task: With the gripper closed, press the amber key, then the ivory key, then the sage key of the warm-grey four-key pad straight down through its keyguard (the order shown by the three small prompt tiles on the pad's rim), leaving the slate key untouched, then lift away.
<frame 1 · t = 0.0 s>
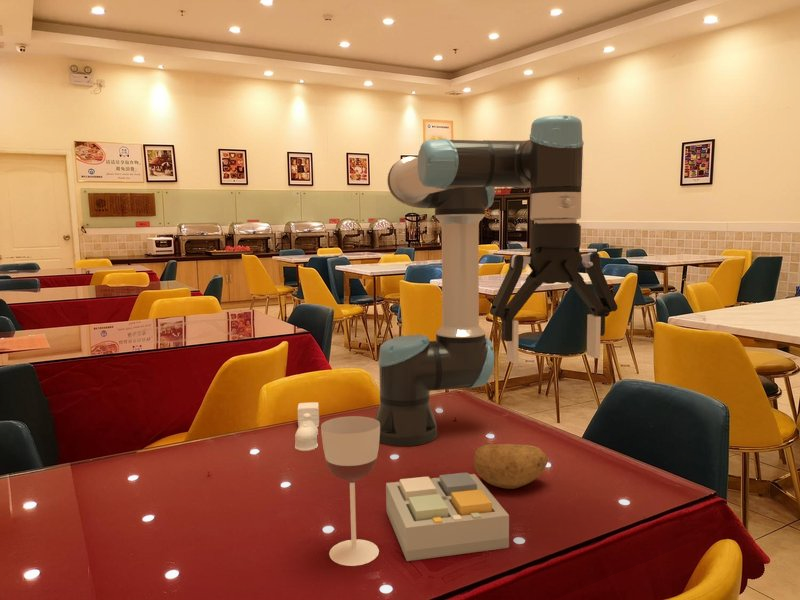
hand: (553, 359, 94), 28 cm above the table, fingers open, 13 cm apart
key ivory: (417, 491, 100), point 5 cm above the table, slide at 0.0 cm
wineglass: (354, 553, 91), on the table
key amber: (471, 505, 95), point 5 cm above the table, slide at 0.0 cm
potato: (510, 486, 114), on the table
key sage: (428, 510, 93), point 5 cm above the table, slide at 0.0 cm
key slate: (457, 486, 101), point 5 cm above the table, slide at 0.0 cm
container set: (307, 437, 144), on the table
keypad: (443, 528, 98), on the table
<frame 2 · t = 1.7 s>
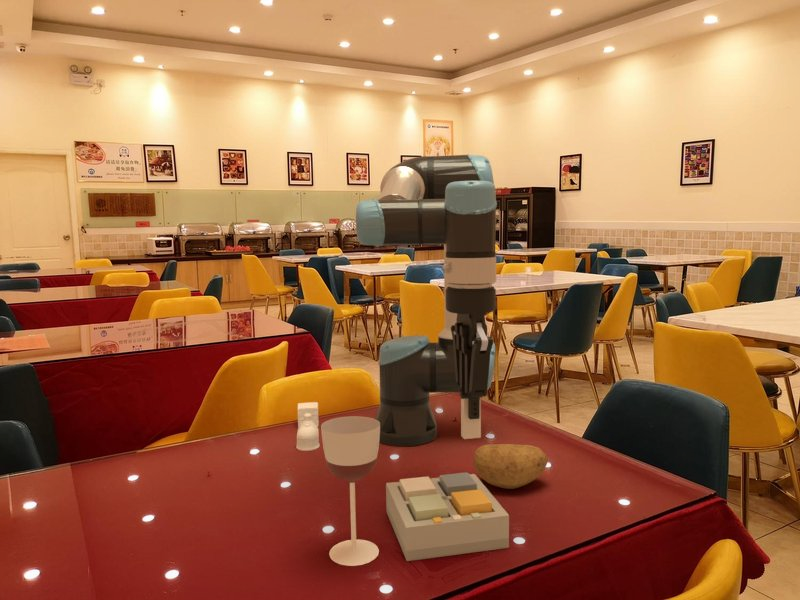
hand: (471, 436, 93), 16 cm above the table, fingers closed
nothing on the table moved.
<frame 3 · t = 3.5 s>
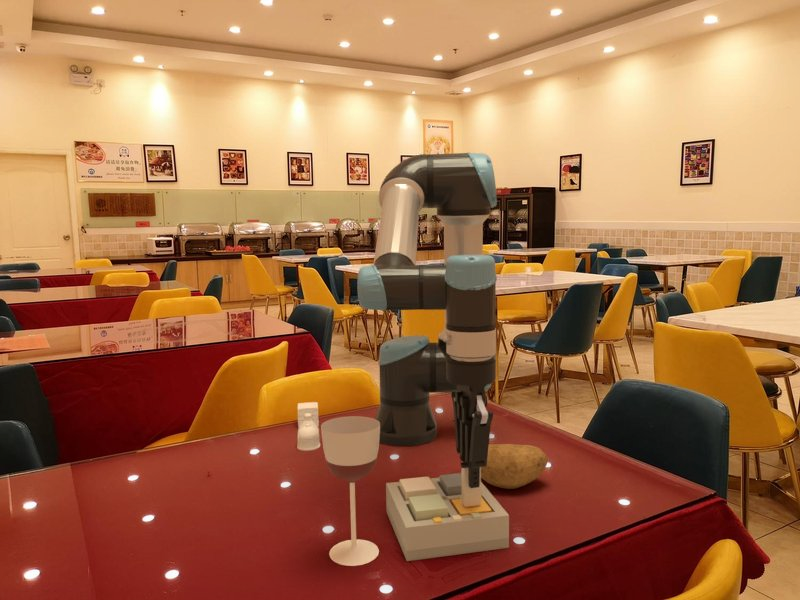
hand: (471, 503, 94), 6 cm above the table, fingers closed
key amber: (471, 512, 95), point 4 cm above the table, slide at 1.2 cm, touching gripper
everything else where it was.
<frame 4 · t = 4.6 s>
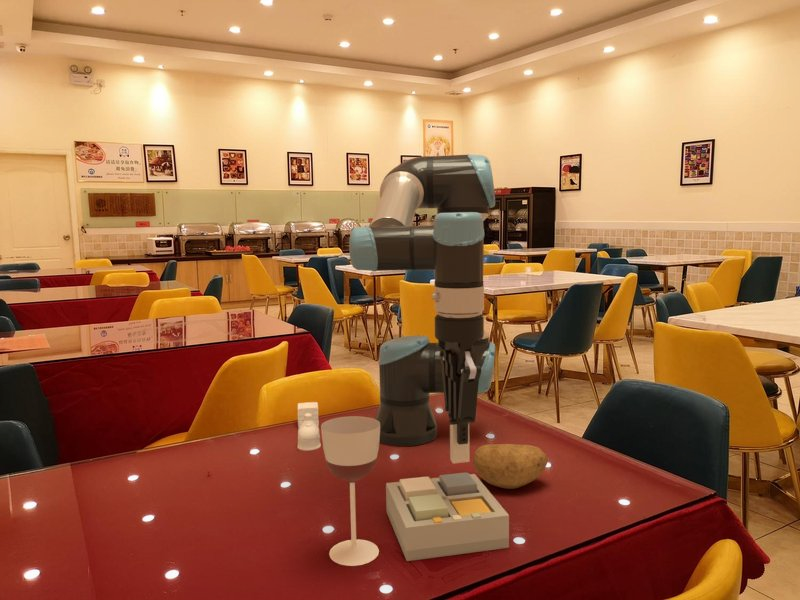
hand: (459, 460, 95), 12 cm above the table, fingers closed
key amber: (471, 514, 95), point 4 cm above the table, slide at 1.6 cm
everything else where it was.
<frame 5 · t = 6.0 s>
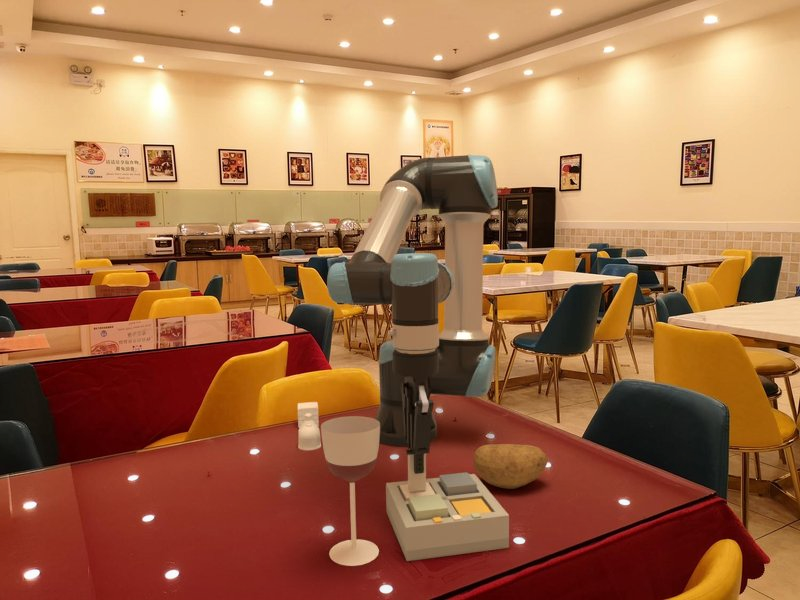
hand: (417, 488, 100), 6 cm above the table, fingers closed
key ivory: (417, 497, 100), point 4 cm above the table, slide at 1.1 cm, touching gripper
everything else where it was.
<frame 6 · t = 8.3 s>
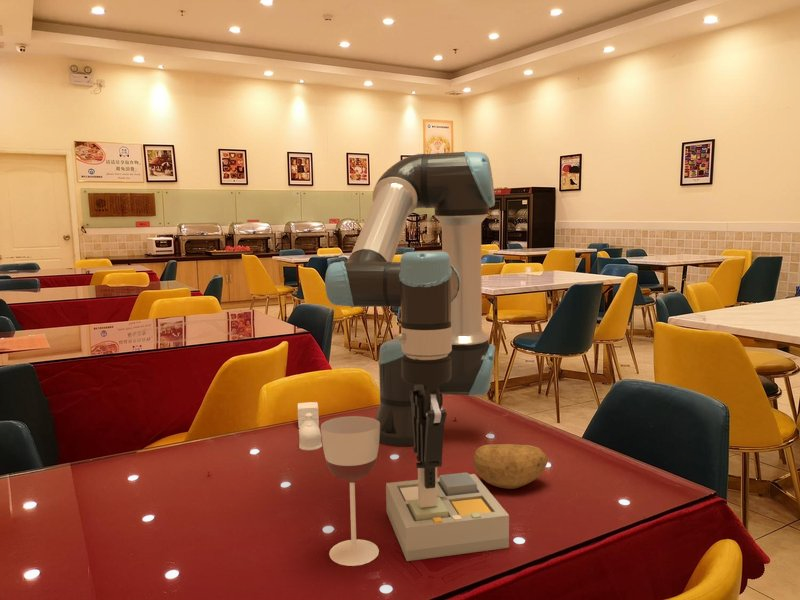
hand: (427, 504, 93), 6 cm above the table, fingers closed
key ivory: (417, 500, 100), point 4 cm above the table, slide at 1.6 cm
key sage: (428, 513, 93), point 5 cm above the table, slide at 0.5 cm, touching gripper
everything else where it was.
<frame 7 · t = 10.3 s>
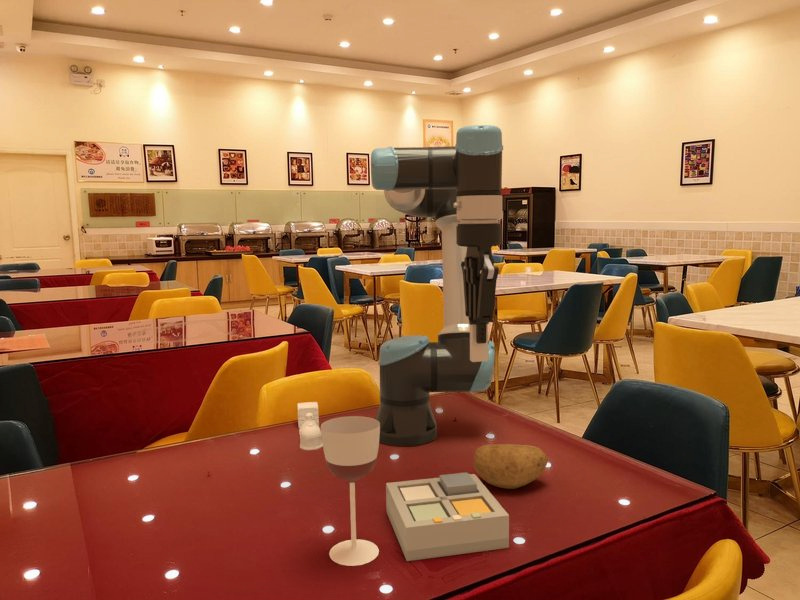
hand: (478, 360, 103), 26 cm above the table, fingers closed
key sage: (428, 519, 93), point 4 cm above the table, slide at 1.6 cm
everything else where it was.
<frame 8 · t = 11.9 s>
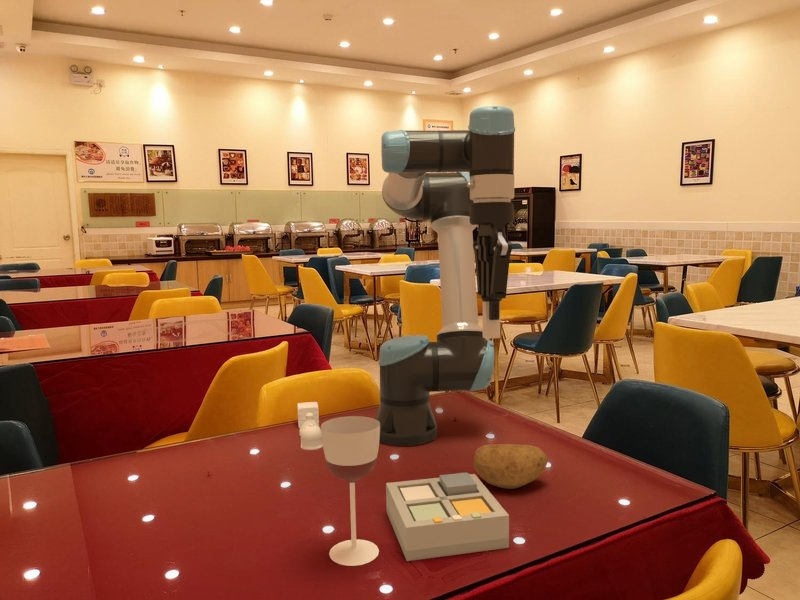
hand: (491, 337, 106), 29 cm above the table, fingers closed
nothing on the table moved.
at the end: key ivory slide at 1.6 cm; key sage slide at 1.6 cm; key slate slide at 0.0 cm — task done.
